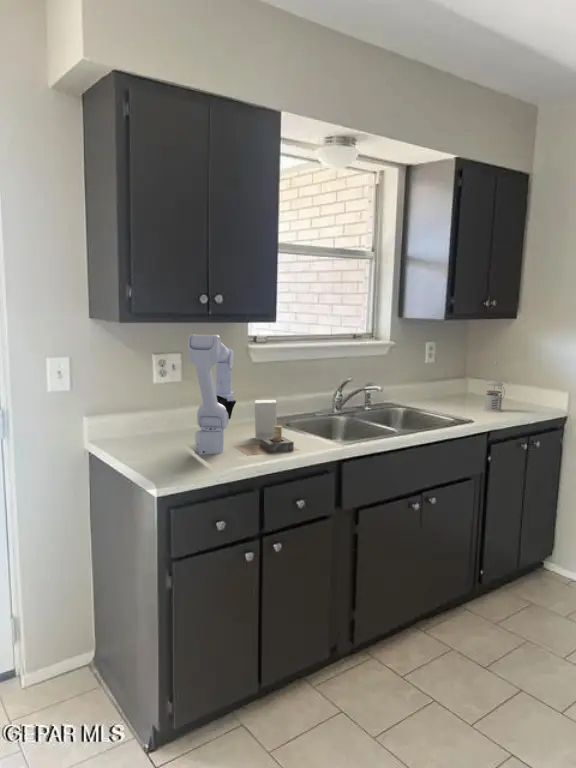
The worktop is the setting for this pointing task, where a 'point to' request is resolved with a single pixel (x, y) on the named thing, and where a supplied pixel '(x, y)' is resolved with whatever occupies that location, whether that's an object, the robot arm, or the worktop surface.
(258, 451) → the socket board
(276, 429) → the birch peg
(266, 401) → the skincare box
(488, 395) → the french press
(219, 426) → the robot arm
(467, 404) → the worktop surface
